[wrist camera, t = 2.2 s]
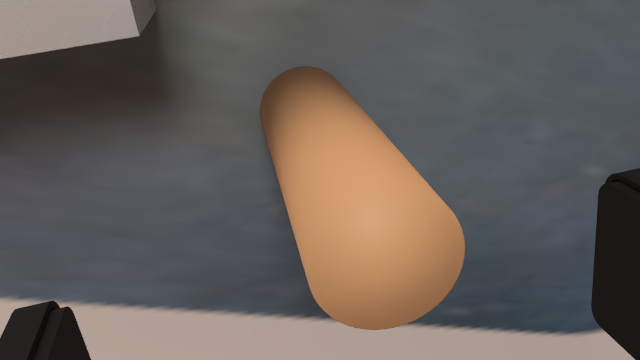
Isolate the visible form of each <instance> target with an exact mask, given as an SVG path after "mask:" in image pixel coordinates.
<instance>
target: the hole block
mask: <svg viewBox="0 0 640 360" xmlns="http://www.w3.org/2000/svg"><path fill="white" fill-rule="evenodd" d="M155 11H156V5H155V1H154V0H0V59H4V58H10V57H16V56H22V55H28V54H34V53H40V52H46V51H52V50H58V49H64V48H70V47H76V46H82V45H88V44H95V43H101V42H107V41H113V40H119V39H125V38H131V37H137V36H140V34H141V33H142V31H143V30H144V28H145V26H146V25H147V23H148V22H149V20H150V19H151V17H152V16H153V14H154V13H155Z"/></svg>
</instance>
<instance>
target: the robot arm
mask: <svg viewBox="0 0 640 360" xmlns="http://www.w3.org/2000/svg"><path fill="white" fill-rule="evenodd" d="M591 306H592V313H593V316H594V318H595V320H596V322H597V323H598V324H599V326H600V327H601V328H602V329H603V330H604V331H606V332H607V333H608V334H609V335H610V336H611V337H612V338H613V339H614V340H615V341H616V342H617V343H618V344H619V345H621V346H622V347H623V348H624V349H625V350H626V351H627V352H628V353H629V354H630V355H631V356H632V357H633V358H634V359H636V360H640V168H638V169H634V170H629V171H625V172H620V173H616V174H612V175H610V176H609V177H608V178H607V180H606V182H605V184H604V185H602V186H601V188H600V189H599V194H598V209H597V225H596V241H595V257H594V273H593V288H592V304H591ZM0 360H91V359H90V356H89V353H88V351H87V348H86V345H85V342H84V340H83V337H82V334H81V332H80V329H79V327H78V324H77V321H76V318H75V316H74V313H73V311H72V310H71V308H70V307H64V308H60V307H59V305H58V304H57V303H56V302H55V301H49V302H45V303H40V304H36V305H32V306H27V307H22V308H18V309H15V310H14V312H13V313H12V315H11V317H10V319H9V321H8V323H7V325H6V327H5V329H4V332H3V334H2V336H1V338H0Z"/></svg>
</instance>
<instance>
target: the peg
mask: <svg viewBox="0 0 640 360" xmlns="http://www.w3.org/2000/svg"><path fill="white" fill-rule="evenodd" d="M260 116H261V121H262V125H263V128H264V132H265V135H266V139H267V142H268V146H269V149H270V153H271V156H272V160H273V163H274V166H275V170H276V173H277V177H278V180H279V184H280V187H281V191H282V194H283V197H284V201H285V204H286V208H287V211H288V215H289V218H290V222H291V225H292V229H293V232H294V235H295V239H296V242H297V246H298V249H299V253H300V256H301V260H302V263H303V266H304V270H305V273H306V277H307V280H308V284H309V287H310V290H311V292H312V295H313V297H314V298H315V300H316V302H317V303H318V305H319V306H320V307H321V308H322V309H323V310H324V311H325V312H326V313H327V314H328V315H329V316H331V317H332V318H334V319H335V320H337V321H339V322H341V323H343V324H345V325H348V326H351V327H355V328H361V329H370V330H379V329H388V328H394V327H397V326H401V325H404V324H407V323H409V322H412V321H414V320H416V319H418V318H420V317H421V316H423V315H425V314H426V313H428V312H429V311H431V310H432V309H433V308H434V307H435V306H437V305H438V304H439V303H440V302H441V301H442V300H443V299H444V298H445V297H446V295H447V294H448V293H449V291H450V290H451V289H452V287H453V285H454V284H455V282H456V280H457V278H458V276H459V274H460V271H461V268H462V265H463V260H464V255H465V242H464V235H463V232H462V228H461V226H460V223H459V221H458V219H457V218H456V216H455V215H454V213H453V212H452V211H451V210H450V208H449V207H448V206H447V205H446V204H445V203H444V202H443V200H442V199H441V198H440V197H439V196H438V195H437V194H436V192H435V191H434V190H433V189H432V188H431V187H430V186H429V185H428V183H427V182H426V181H425V180H424V179H423V178H422V177H421V175H420V174H419V173H418V172H417V171H416V170H415V169H414V167H413V166H412V165H411V164H410V163H409V162H408V161H407V159H406V158H405V157H404V156H403V155H402V154H401V153H400V151H399V150H398V149H397V148H396V147H395V146H394V145H393V144H392V142H391V141H390V140H389V139H388V138H387V137H386V136H385V134H384V133H383V132H382V131H381V130H380V129H379V128H378V126H377V125H376V124H375V123H374V122H373V121H372V120H371V118H370V117H369V116H368V115H367V114H366V113H365V112H364V110H363V109H362V108H361V107H360V106H359V105H358V104H357V103H356V101H355V100H354V99H353V98H352V97H351V96H350V95H349V93H348V92H347V91H346V90H345V89H344V88H343V87H342V85H341V84H340V83H339V82H338V81H337V80H336V79H335V78H334V77H333V76H332V75H331V74H329V73H327V72H326V71H323V70H321V69H318V68H314V67H297V68H293V69H290V70H287V71H285V72H283V73H282V74H280V75H279V76H277V77H276V78H275V79H274V80H273V81H272V82H271V83H270V84H269V86H268V87H267V89H266V90H265V93H264V95H263V97H262V101H261V106H260Z"/></svg>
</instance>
